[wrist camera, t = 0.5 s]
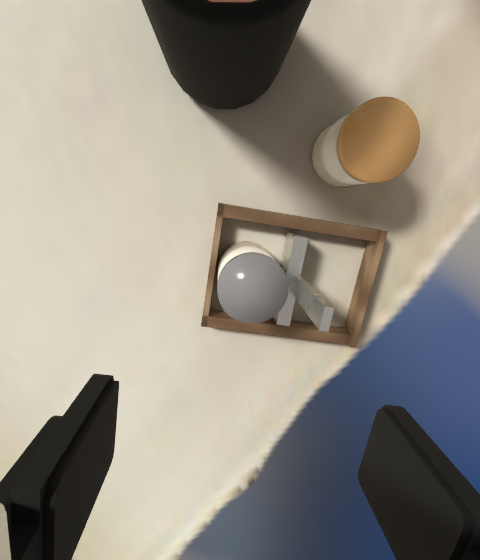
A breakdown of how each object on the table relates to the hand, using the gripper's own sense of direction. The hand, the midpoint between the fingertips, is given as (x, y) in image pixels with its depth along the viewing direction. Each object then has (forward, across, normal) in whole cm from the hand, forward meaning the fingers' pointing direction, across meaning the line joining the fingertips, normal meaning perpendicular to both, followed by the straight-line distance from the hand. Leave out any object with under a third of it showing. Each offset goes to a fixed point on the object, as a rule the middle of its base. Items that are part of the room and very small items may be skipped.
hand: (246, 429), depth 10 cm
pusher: (+24, -6, 0) cm, 25 cm away
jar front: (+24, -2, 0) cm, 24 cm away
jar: (+24, -10, -13) cm, 29 cm away
